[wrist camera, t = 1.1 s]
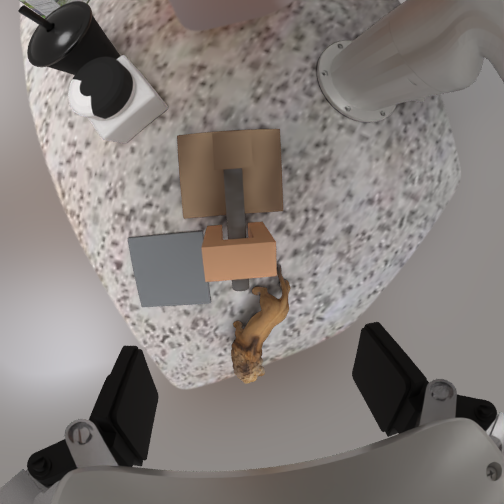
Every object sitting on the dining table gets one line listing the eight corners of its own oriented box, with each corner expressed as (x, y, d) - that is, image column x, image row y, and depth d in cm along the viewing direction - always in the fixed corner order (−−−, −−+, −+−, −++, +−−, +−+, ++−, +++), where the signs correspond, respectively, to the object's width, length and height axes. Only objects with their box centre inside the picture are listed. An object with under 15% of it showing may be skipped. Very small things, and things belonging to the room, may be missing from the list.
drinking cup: (89, 103, 27) (-12, 68, 8) (78, 63, 24) (-8, 15, 5) (138, 75, 27) (62, 3, 8) (125, 35, 24) (60, -40, 5)
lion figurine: (256, 351, 40) (263, 391, 32) (223, 343, 39) (224, 384, 31) (295, 268, 37) (315, 298, 28) (258, 256, 36) (269, 285, 27)
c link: (262, 221, 30) (275, 241, 22) (263, 248, 30) (276, 275, 23) (207, 226, 29) (201, 247, 21) (209, 252, 30) (205, 281, 22)
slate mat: (202, 230, 34) (202, 231, 33) (210, 301, 37) (210, 303, 36) (129, 237, 33) (127, 238, 32) (142, 305, 36) (141, 307, 36)
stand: (277, 130, 31) (305, 112, 19) (281, 250, 36) (307, 290, 24) (179, 137, 30) (155, 121, 19) (190, 258, 35) (175, 301, 23)
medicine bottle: (140, 72, 26) (106, 35, 15) (169, 108, 29) (142, 81, 17) (98, 107, 27) (49, 88, 16) (125, 145, 29) (79, 137, 18)
